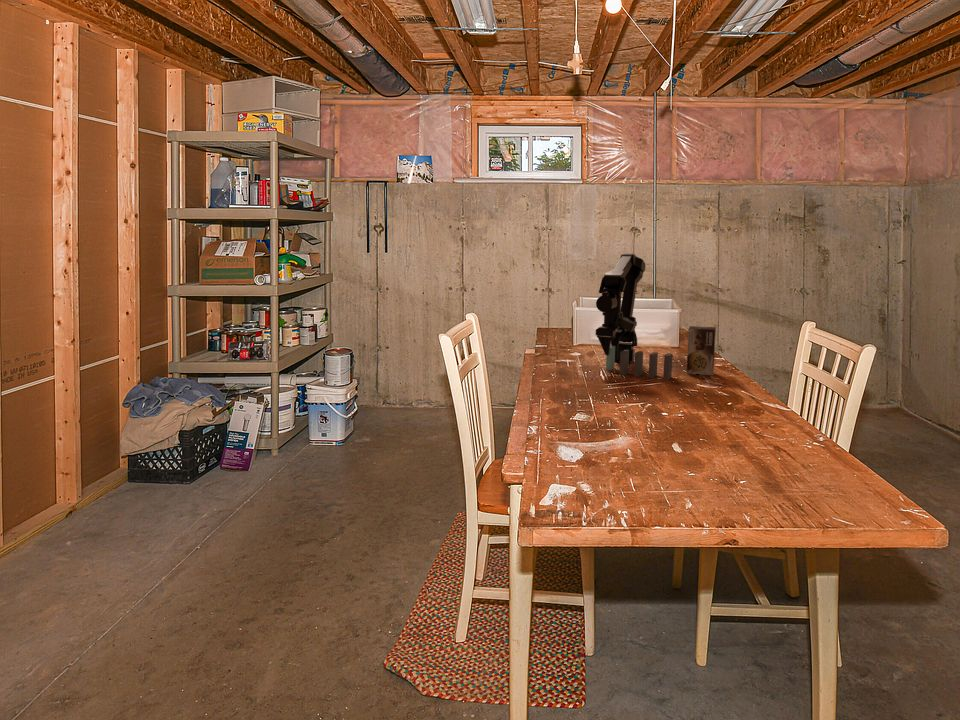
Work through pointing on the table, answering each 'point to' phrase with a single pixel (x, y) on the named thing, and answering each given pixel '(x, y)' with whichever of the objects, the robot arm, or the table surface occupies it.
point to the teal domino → (610, 358)
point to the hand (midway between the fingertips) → (610, 353)
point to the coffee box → (701, 350)
